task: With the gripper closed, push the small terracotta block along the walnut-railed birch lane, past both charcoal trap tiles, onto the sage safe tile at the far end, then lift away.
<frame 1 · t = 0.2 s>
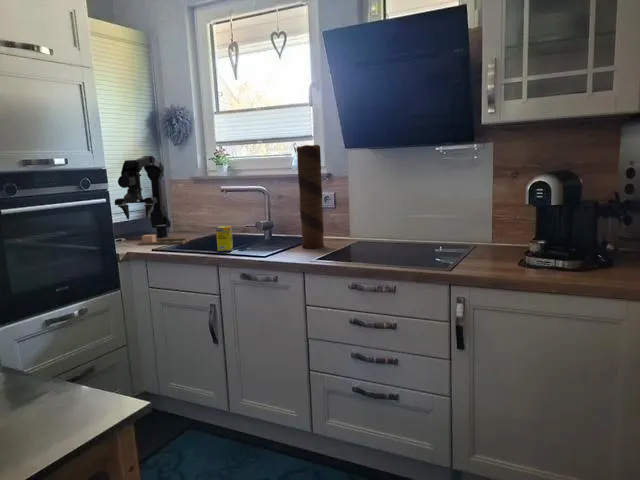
hand: (137, 219, 250), 14 cm above the counter, fingers open, 9 cm apart
trap lane: (164, 244, 256), on the counter
supplement box: (225, 251, 231), on the counter
terracotta block: (149, 243, 256), point 1 cm above the counter, touching trap lane
wafer roll: (313, 247, 233), on the counter
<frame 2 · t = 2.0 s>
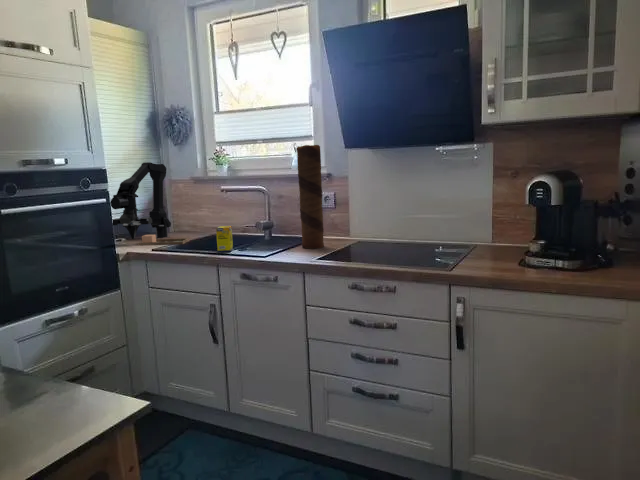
hand: (133, 238, 256), 4 cm above the counter, fingers closed
nothing on the counter moved.
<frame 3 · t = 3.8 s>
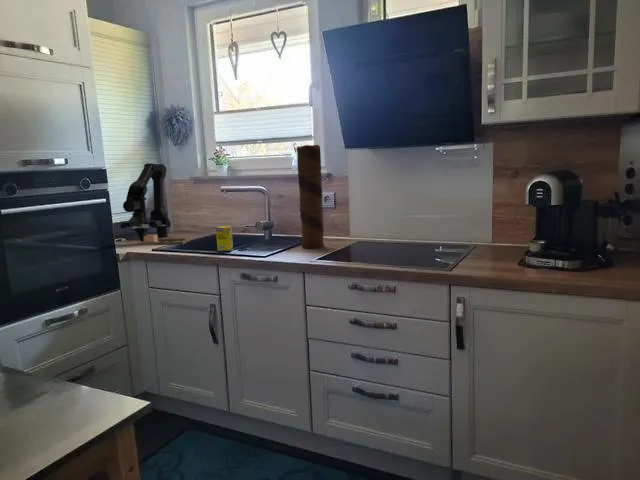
hand: (142, 241, 256), 2 cm above the counter, fingers closed
terracotta block: (151, 243, 256), point 1 cm above the counter, touching gripper, trap lane
everything else where it was.
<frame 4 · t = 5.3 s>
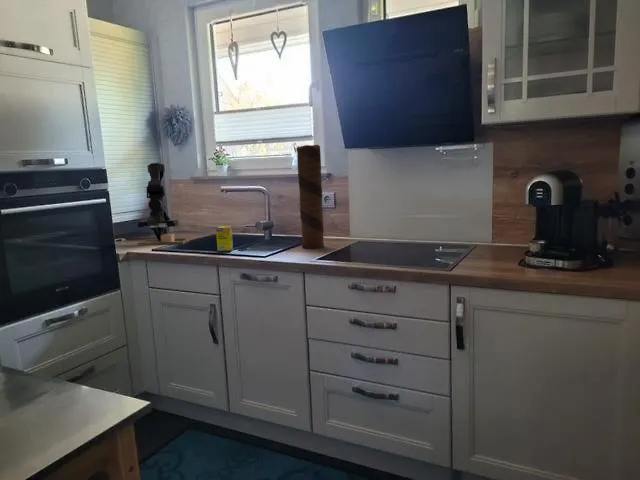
hand: (159, 240, 256), 2 cm above the counter, fingers closed
terracotta block: (168, 242, 256), point 1 cm above the counter, touching gripper, trap lane
everything else where it was.
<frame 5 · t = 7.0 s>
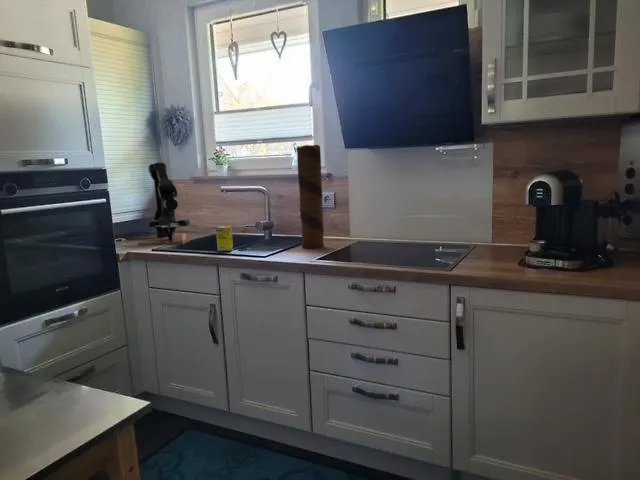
hand: (170, 240, 255), 2 cm above the counter, fingers closed
terracotta block: (179, 242, 256), point 1 cm above the counter, touching gripper, trap lane
everything else where it was.
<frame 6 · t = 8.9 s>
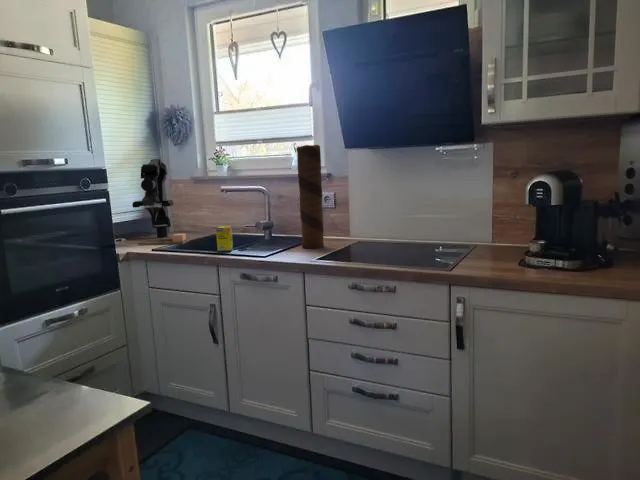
hand: (154, 220, 259), 12 cm above the counter, fingers closed
terracotta block: (179, 242, 256), point 1 cm above the counter, touching trap lane
everything else where it was.
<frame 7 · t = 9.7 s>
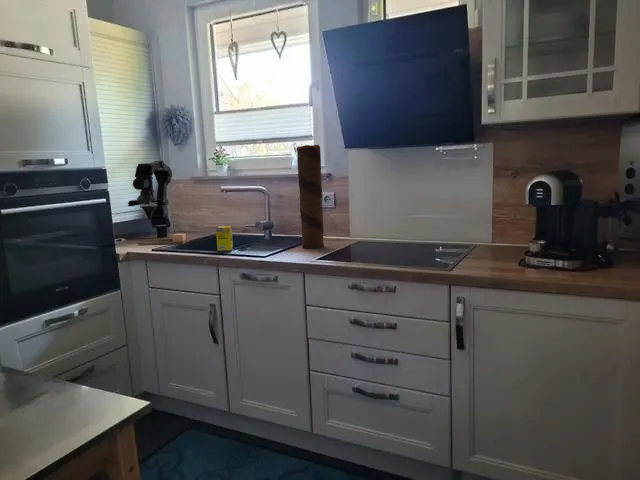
hand: (149, 219, 262), 12 cm above the counter, fingers closed
nothing on the counter moved.
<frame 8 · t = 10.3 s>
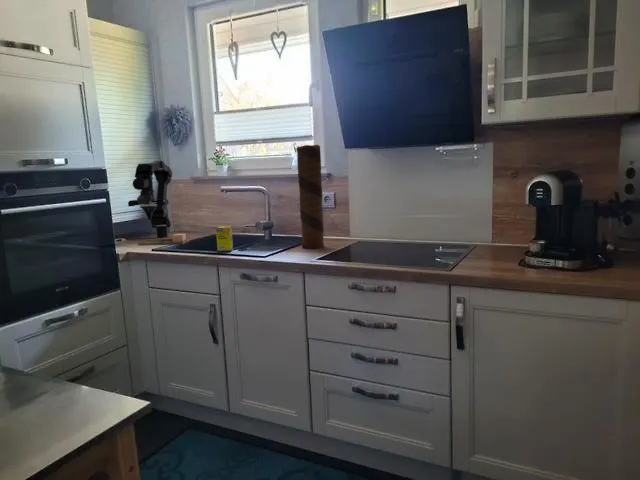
hand: (149, 219, 262), 12 cm above the counter, fingers closed
nothing on the counter moved.
at the end: terracotta block 0.6 cm from the target spot, point 1.0 cm above the counter; terracotta block tilted 0° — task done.
